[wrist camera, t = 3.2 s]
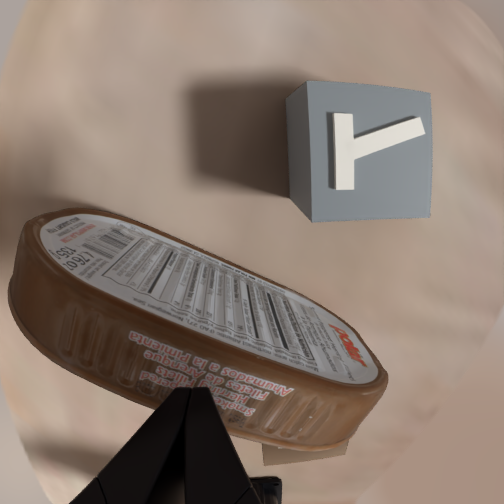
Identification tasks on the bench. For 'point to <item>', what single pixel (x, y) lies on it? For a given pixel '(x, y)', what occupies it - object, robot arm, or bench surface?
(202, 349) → the tin
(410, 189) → the slate number block
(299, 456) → the walnut number block
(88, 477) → the bench surface
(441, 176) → the bench surface
